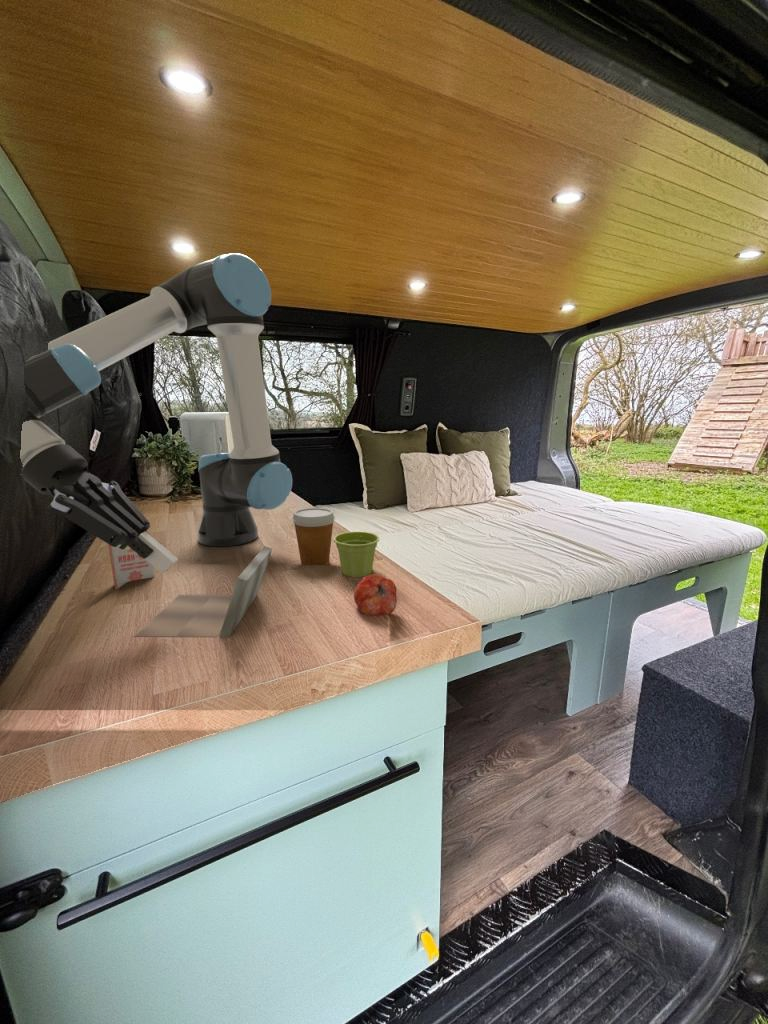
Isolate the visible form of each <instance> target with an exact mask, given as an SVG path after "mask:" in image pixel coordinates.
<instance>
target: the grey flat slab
mask: <svg viewBox="0 0 768 1024" xmlns="http://www.w3.org/2000/svg"><path fill="white" fill-rule="evenodd" d="M272 550H273V548H271V547H269V546H265V545H264V546H262V548H261V550H259V552H258V553H257V554H256V556H255V557H254V558H252V561H250V563H249V564H248V565H247V566H246V567H245V568H244V570H243V571H241V573H240V575H239V576H237V579H236V582H235V586H234V588H233V592H232V594H231V595H232V598H231V601H230V604H229V607H228V610H227V614H226V617H225V620H224V623H223V626H222V630H221V632H220V633H219V638H230V637H231V635H232V634H233V632H234V631H235V629H236V628H237V626H238V624H239V623H240V622H241V620H242V619H243V617H244V616H245V614H246V612H247V611H248V610H249V608H250V606H251V605H252V603H253V601H255V598H256V597H257V596H258V592H259V589H260V586H261V583H262V581H263V577H264V575H265V572H266V569H267V565H268V562H269V559H270V556H271V553H272Z"/></svg>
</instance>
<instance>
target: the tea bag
mask: <svg viewBox="0 0 768 1024" xmlns="http://www.w3.org/2000/svg"><path fill="white" fill-rule="evenodd" d="M120 546H121V545H118V546H117V547H113V546H111V545H109V544H108V548H109V549H108V550H109V558H110V559H109V560H110V566H111V570H112V571H111V572H112V578H113V582H114V583H113V584H114V590H115V591H117V590H118V589H120V588H121V587H123V586H124V585H125V584H126V583H128V582H132V581H138V580H144V579H149V578H155V571H154V568H155V567H154V566H153V565H152V564H150V563H149V562H148V561H147V560H146V559H144V558H142V557H141V556H140V555H139V554H137V553H136V552H135V551H134V550H132V549H131V548H130V547H129V546H127V547H126V548H125V549H120V548H119V547H120Z"/></svg>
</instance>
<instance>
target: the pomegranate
mask: <svg viewBox="0 0 768 1024" xmlns="http://www.w3.org/2000/svg"><path fill="white" fill-rule="evenodd" d="M353 591H354V592H353V599H354V603H355V605H357V609H358V611H359V612H361V613H362V614H364V615H369V616H379V615H387V616H390V615H391V614H392V613H394V611H395V609H397V601H398V597H397V586H396V584H395V583H394V581H393V580H392V579H390V578H388V577H384V576H382V575H380V574H377V573H375V574H374V573H373V574H372V573H370V574H369V575H366V576H363V578H362V579H361V580H360V581H359V582H358V583H357V586H356V587H355V588H354V590H353Z"/></svg>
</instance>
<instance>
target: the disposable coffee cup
mask: <svg viewBox="0 0 768 1024" xmlns="http://www.w3.org/2000/svg"><path fill="white" fill-rule="evenodd" d="M291 520H292V522H293V524H294V528H295V534H296V540H297V541H296V542H297V545H298V546H297V547H298V553H299V558H300V564H301V565H302V566H327V565H328V564H329V563H330V555H331V548H332V547H331V546H332V538H333V537H332V535H333V528H334V527H333V526H334V522H335V520H336V516H335V515H334V512H333V510H332V509H329V508H324V507H307V508H300V509H298V510H295V511H293V516H292V517H291ZM328 562H329V563H328ZM327 563H328V564H327ZM326 564H327V565H326Z"/></svg>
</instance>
